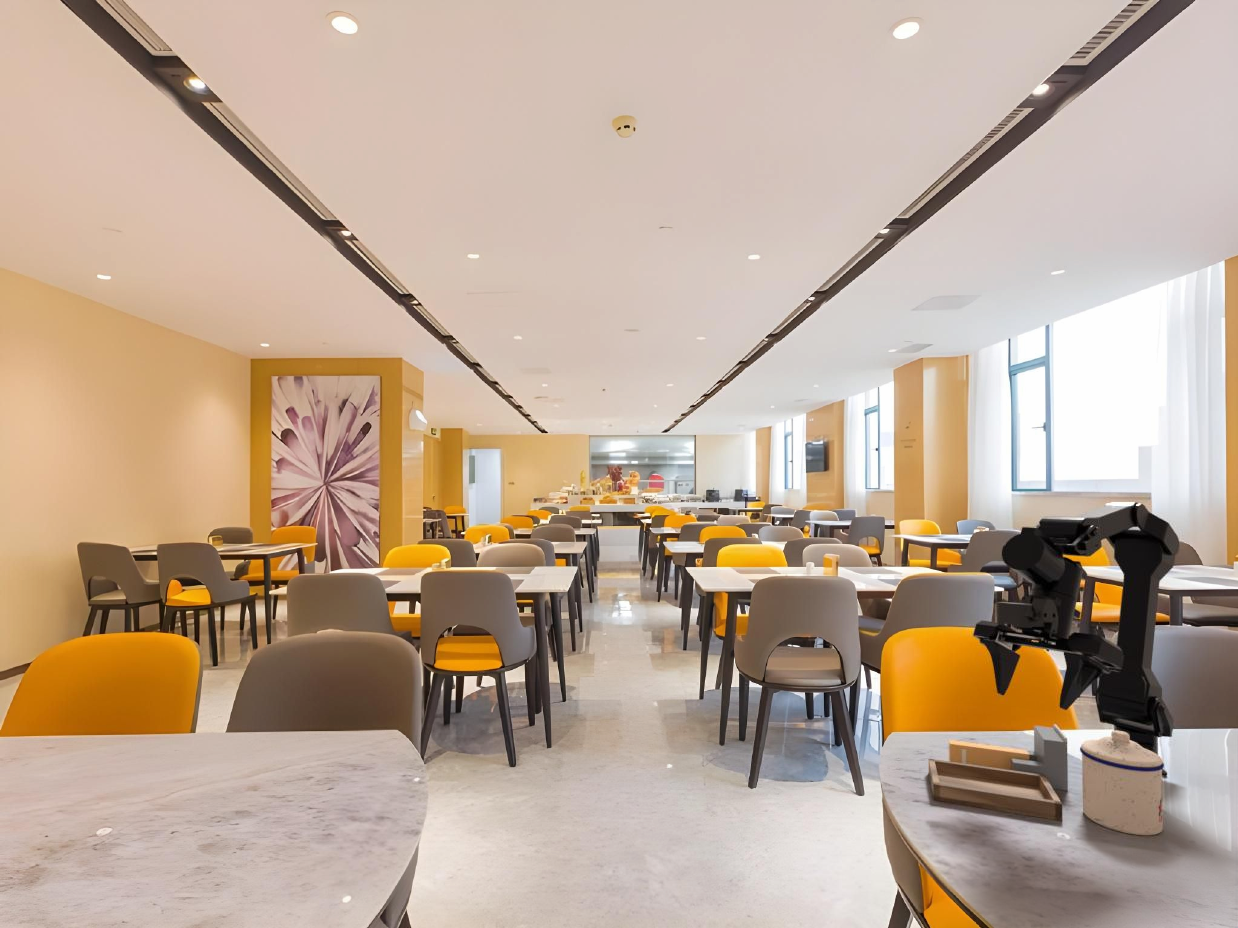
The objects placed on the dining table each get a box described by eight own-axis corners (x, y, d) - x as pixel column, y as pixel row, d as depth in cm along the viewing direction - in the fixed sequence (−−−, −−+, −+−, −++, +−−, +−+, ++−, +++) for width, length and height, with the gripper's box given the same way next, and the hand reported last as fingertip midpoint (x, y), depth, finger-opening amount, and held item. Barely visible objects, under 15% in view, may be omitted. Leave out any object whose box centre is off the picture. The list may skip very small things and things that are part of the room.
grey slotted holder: (1005, 766, 110) (1005, 718, 110) (1056, 773, 107) (1055, 724, 108) (1013, 782, 103) (1013, 731, 104) (1067, 790, 101) (1067, 738, 101)
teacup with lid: (1182, 840, 86) (1180, 746, 87) (1103, 833, 88) (1102, 741, 88) (1126, 799, 98) (1124, 717, 99) (1057, 794, 99) (1056, 712, 100)
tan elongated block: (948, 764, 110) (948, 739, 111) (1026, 776, 107) (1026, 749, 107) (950, 769, 109) (950, 743, 109) (1029, 781, 105) (1029, 754, 105)
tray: (928, 772, 106) (928, 758, 106) (1044, 790, 101) (1044, 774, 101) (933, 799, 96) (933, 783, 97) (1062, 820, 91) (1062, 803, 91)
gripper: (961, 572, 106) (936, 669, 102) (1084, 578, 89) (1060, 696, 85) (1008, 599, 110) (985, 694, 105) (1135, 610, 93) (1114, 725, 88)
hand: (1030, 701), depth 96 cm, fingers open, 9 cm apart
